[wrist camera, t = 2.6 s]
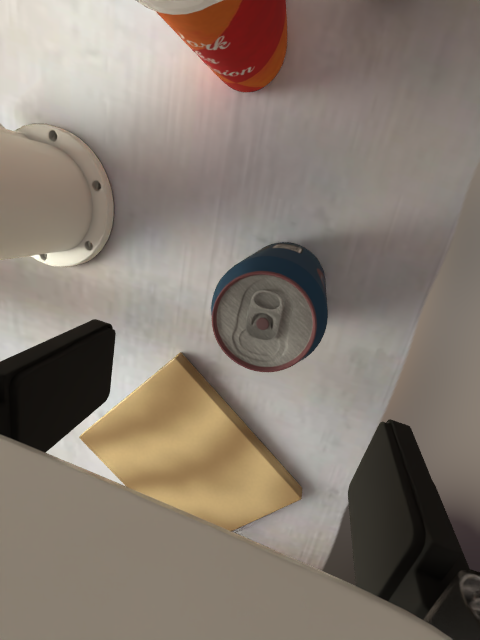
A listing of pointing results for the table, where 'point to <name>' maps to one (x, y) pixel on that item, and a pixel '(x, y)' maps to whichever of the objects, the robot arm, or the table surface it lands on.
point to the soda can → (271, 308)
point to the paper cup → (231, 36)
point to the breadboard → (191, 450)
